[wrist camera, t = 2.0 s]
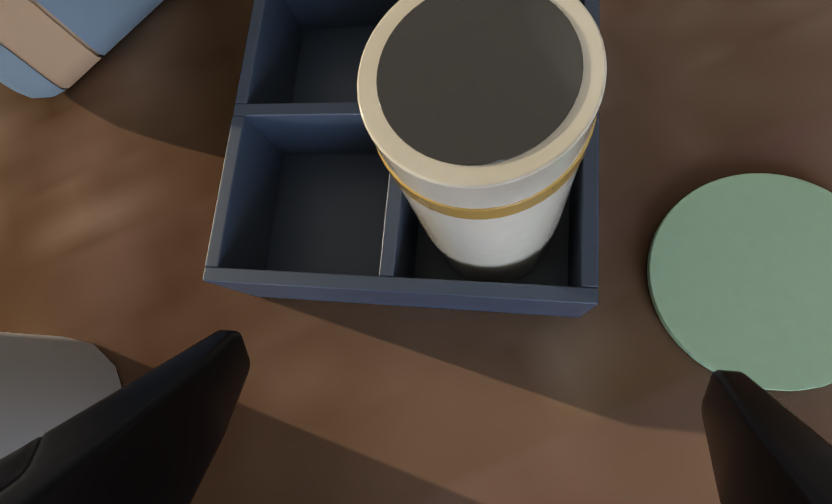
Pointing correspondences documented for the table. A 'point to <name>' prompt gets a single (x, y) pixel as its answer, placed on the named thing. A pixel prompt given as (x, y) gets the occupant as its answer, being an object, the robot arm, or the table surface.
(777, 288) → the coaster
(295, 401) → the table surface
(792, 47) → the table surface
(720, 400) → the robot arm
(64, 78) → the blue rounded cube
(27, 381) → the cup
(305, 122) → the organizer
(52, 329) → the table surface
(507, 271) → the pen pot
